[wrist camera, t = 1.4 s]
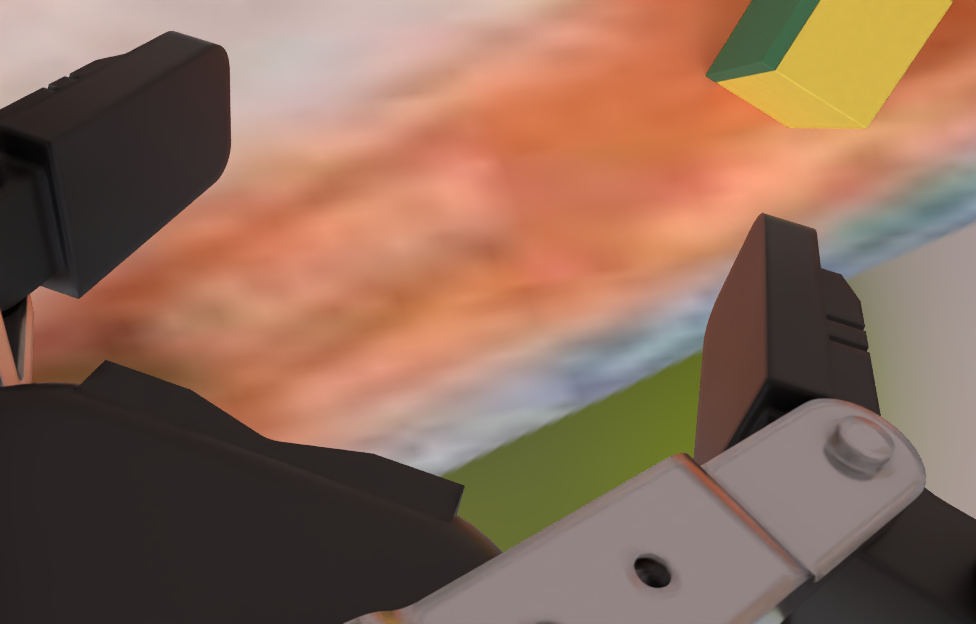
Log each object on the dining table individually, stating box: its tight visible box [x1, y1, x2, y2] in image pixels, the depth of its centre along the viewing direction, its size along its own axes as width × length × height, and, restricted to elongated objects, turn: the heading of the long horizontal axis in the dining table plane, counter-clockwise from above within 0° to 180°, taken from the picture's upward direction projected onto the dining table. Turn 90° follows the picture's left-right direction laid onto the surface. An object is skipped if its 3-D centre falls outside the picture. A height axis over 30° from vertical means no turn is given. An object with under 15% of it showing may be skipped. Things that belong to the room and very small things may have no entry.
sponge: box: [706, 0, 952, 129], centre depth 32 cm, size 5×5×8 cm
